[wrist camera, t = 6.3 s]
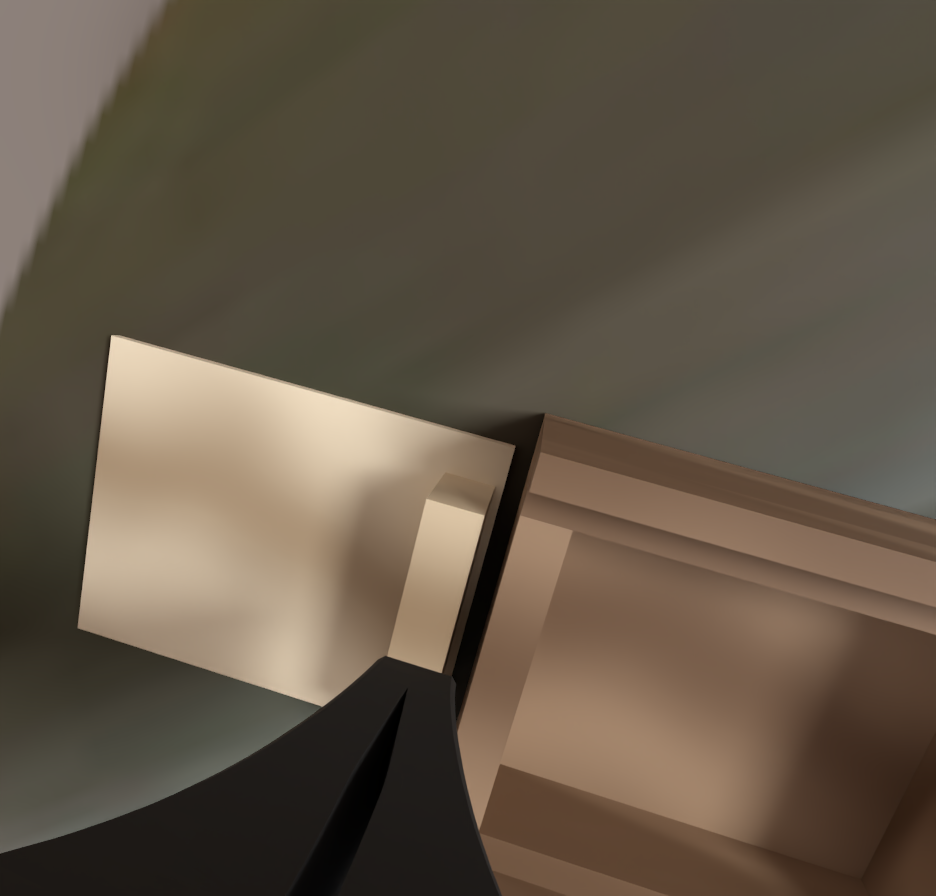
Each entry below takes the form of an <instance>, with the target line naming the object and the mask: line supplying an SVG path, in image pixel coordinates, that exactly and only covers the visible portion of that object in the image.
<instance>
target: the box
mask: <svg viewBox="0 0 936 896" xmlns="http://www.w3.org/2000/svg"><path fill="white" fill-rule="evenodd" d="M456 726H457V734H458V742H459V748H460V753H461V759H462V765H463V770H464V775H465V780H466V784H467V789H468V793H469V796H470V800H471V804H472V808H473V812H474V816H475V819H476V823H477V826H478V829H479V833H480V836H481V839H482V842H483V845H484V848H485V851H486V854H487V857H488V860H489V863H490V866H491V868H492V871H493V874H494V876H495V879H496V881H497V884H498V886H499V889H500V892H501V894H502V896H936V520H935V519H931V518H928V517H924V516H920V515H917V514H913V513H910V512H906V511H902V510H899V509H895V508H891V507H888V506H884V505H880V504H877V503H873V502H869V501H866V500H862V499H858V498H855V497H851V496H847V495H844V494H840V493H836V492H833V491H829V490H825V489H822V488H818V487H814V486H811V485H807V484H803V483H800V482H796V481H792V480H789V479H785V478H781V477H778V476H774V475H770V474H767V473H763V472H759V471H756V470H752V469H748V468H745V467H741V466H737V465H734V464H730V463H726V462H723V461H719V460H715V459H712V458H708V457H704V456H701V455H697V454H693V453H690V452H686V451H682V450H679V449H675V448H671V447H668V446H664V445H660V444H657V443H653V442H649V441H646V440H642V439H638V438H635V437H631V436H627V435H624V434H620V433H616V432H613V431H609V430H605V429H602V428H598V427H594V426H591V425H587V424H583V423H580V422H576V421H573V420H569V419H565V418H562V417H558V416H554V415H551V414H547V413H545V416H544V420H543V423H542V427H541V430H540V434H539V437H538V441H537V444H536V448H535V451H534V455H533V458H532V462H531V465H530V468H529V472H528V475H527V479H526V482H525V486H524V489H523V493H522V496H521V500H520V503H519V507H518V510H517V514H516V517H515V521H514V524H513V528H512V531H511V535H510V538H509V542H508V545H507V549H506V552H505V556H504V559H503V563H502V566H501V570H500V573H499V577H498V580H497V584H496V587H495V591H494V594H493V597H492V601H491V604H490V608H489V611H488V615H487V618H486V622H485V625H484V629H483V632H482V636H481V639H480V643H479V646H478V650H477V653H476V657H475V660H474V664H473V667H472V671H471V674H470V678H469V681H468V685H467V688H466V692H465V695H464V699H463V702H462V706H461V709H460V713H459V716H458V720H457V723H456Z"/></svg>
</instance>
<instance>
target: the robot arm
mask: <svg viewBox="0 0 936 896" xmlns="http://www.w3.org/2000/svg"><path fill="white" fill-rule="evenodd" d="M455 689H456V683H455V681H454V679H453V677H452V676H449V675H446V674H443V673H439V672H436V671H433V670H430V669H426V668H423V667H420V666H417V665H414V664H410V663H407V662H404V661H401V660H398V659H394V658H391V657H388V656H384V657H382V658H380V659H378V660H377V661H376V662H375V663H374V664H373V665H372V666H371V667H370V668H369V669H368V670H366V671H365V672H364V673H363V674H362V675H361V676H360V677H359V678H358V679H356V680H355V681H354V682H353V683H352V684H351V685H349V686H348V687H347V688H346V689H345V690H343V691H342V692H341V693H340V694H339V695H337V696H336V697H335V698H333V699H332V700H331V701H329V702H328V703H327V704H326V705H324V706H323V707H322V708H320V709H319V710H318V711H317V712H315V713H314V714H313V715H311V716H310V717H308V718H307V719H306V720H304V721H303V722H301V723H300V724H298V725H297V726H295V727H294V728H292V729H291V730H289V731H288V732H286V733H285V734H283V735H282V736H280V737H279V738H277V739H276V740H274V741H273V742H271V743H270V744H268V745H267V746H265V747H263V748H262V749H260V750H258V751H257V752H255V753H253V754H252V755H250V756H248V757H246V758H245V759H243V760H241V761H239V762H238V763H236V764H234V765H232V766H230V767H228V768H227V769H225V770H223V771H221V772H219V773H217V774H215V775H213V776H211V777H209V778H207V779H205V780H203V781H201V782H199V783H197V784H195V785H193V786H191V787H188V788H186V789H184V790H182V791H180V792H178V793H176V794H174V795H171V796H169V797H167V798H165V799H162V800H160V801H158V802H156V803H153V804H151V805H148V806H146V807H143V808H141V809H138V810H135V811H133V812H130V813H128V814H125V815H122V816H120V817H117V818H114V819H112V820H109V821H106V822H103V823H100V824H97V825H94V826H91V827H89V828H86V829H83V830H80V831H77V832H74V833H70V834H67V835H64V836H61V837H58V838H55V839H51V840H47V841H44V842H40V843H37V844H33V845H30V846H26V847H22V848H19V849H15V850H12V851H8V852H5V853H1V854H0V896H502V894H501V892H500V889H499V886H498V884H497V881H496V879H495V876H494V874H493V871H492V868H491V866H490V863H489V860H488V857H487V854H486V851H485V848H484V845H483V842H482V839H481V836H480V833H479V829H478V826H477V823H476V819H475V816H474V812H473V808H472V804H471V800H470V796H469V793H468V789H467V784H466V780H465V775H464V770H463V765H462V759H461V753H460V748H459V742H458V734H457V726H456V715H455Z"/></svg>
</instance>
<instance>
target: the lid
mask: <svg viewBox="0 0 936 896" xmlns="http://www.w3.org/2000/svg"><path fill="white" fill-rule="evenodd" d="M514 450H515V445H512V444H508V443H504V442H501V441H497V440H494V439H490V438H486V437H483V436H479V435H476V434H472V433H468V432H465V431H461V430H458V429H454V428H450V427H447V426H443V425H440V424H436V423H432V422H429V421H425V420H422V419H418V418H415V417H411V416H407V415H404V414H400V413H397V412H393V411H389V410H386V409H382V408H379V407H375V406H371V405H368V404H364V403H361V402H357V401H353V400H350V399H346V398H343V397H339V396H335V395H332V394H328V393H325V392H321V391H317V390H314V389H310V388H307V387H303V386H300V385H296V384H292V383H289V382H285V381H282V380H278V379H274V378H271V377H267V376H264V375H260V374H256V373H253V372H249V371H246V370H242V369H238V368H235V367H231V366H228V365H224V364H220V363H217V362H213V361H210V360H206V359H202V358H199V357H195V356H192V355H188V354H185V353H181V352H177V351H174V350H170V349H167V348H163V347H159V346H156V345H152V344H149V343H145V342H141V341H138V340H134V339H131V338H127V337H123V336H120V335H111V343H110V352H109V361H108V369H107V378H106V387H105V395H104V404H103V413H102V421H101V430H100V439H99V447H98V456H97V465H96V473H95V482H94V491H93V499H92V508H91V516H90V525H89V534H88V542H87V551H86V560H85V568H84V577H83V586H82V594H81V603H80V612H79V620H78V628H79V629H82V630H85V631H88V632H91V633H95V634H98V635H101V636H104V637H107V638H110V639H113V640H116V641H120V642H123V643H126V644H129V645H132V646H135V647H138V648H141V649H145V650H148V651H151V652H154V653H157V654H160V655H163V656H166V657H169V658H173V659H176V660H179V661H182V662H185V663H188V664H191V665H194V666H198V667H201V668H204V669H207V670H210V671H213V672H216V673H219V674H223V675H226V676H229V677H232V678H235V679H238V680H241V681H244V682H247V683H251V684H254V685H257V686H260V687H263V688H266V689H269V690H272V691H276V692H279V693H282V694H285V695H288V696H291V697H294V698H297V699H301V700H304V701H307V702H310V703H313V704H316V705H319V706H322V707H323V706H324V705H326V704H327V703H328V702H329V701H331V700H332V699H333V698H335V697H336V696H337V695H339V694H340V693H341V692H342V691H343V690H345V689H346V688H347V687H348V686H349V685H351V684H352V683H353V682H354V681H355V680H356V679H358V678H359V677H360V676H361V675H362V674H363V673H364V672H365V671H366V670H368V669H369V668H370V667H371V666H372V665H373V664H374V663H375V662H376V661H377V660H378V659H380V658H382V657H384V656H388V657H391V658H394V659H398V660H401V661H404V662H407V663H410V664H414V665H417V666H420V667H423V668H426V669H430V670H433V671H436V672H439V673H443V674H446V675H449V676H452V672H453V669H454V665H455V662H456V658H457V654H458V651H459V647H460V644H461V640H462V636H463V633H464V629H465V626H466V622H467V618H468V615H469V611H470V608H471V604H472V601H473V597H474V593H475V590H476V586H477V583H478V579H479V575H480V572H481V568H482V565H483V561H484V557H485V554H486V550H487V547H488V543H489V539H490V536H491V532H492V529H493V525H494V522H495V518H496V514H497V511H498V507H499V504H500V500H501V496H502V493H503V489H504V486H505V482H506V478H507V475H508V471H509V468H510V464H511V460H512V457H513V453H514Z"/></svg>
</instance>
